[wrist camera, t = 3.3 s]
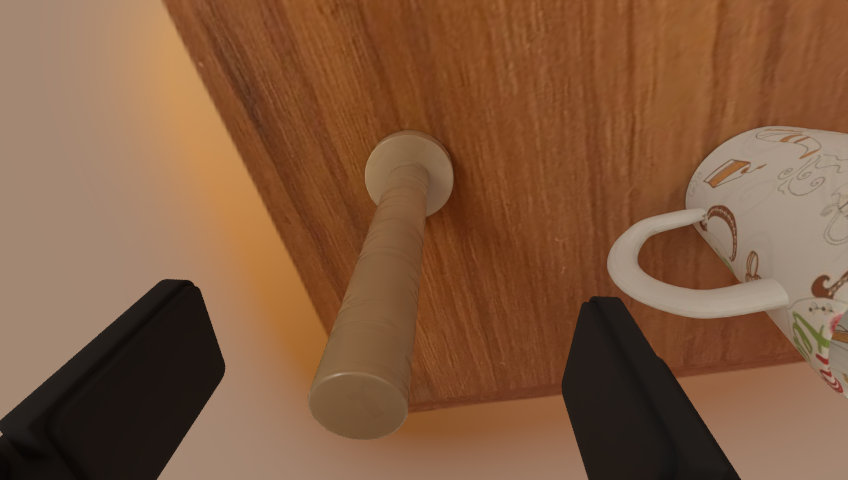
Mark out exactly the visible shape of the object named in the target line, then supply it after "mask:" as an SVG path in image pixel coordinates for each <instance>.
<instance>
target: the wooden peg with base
mask: <svg viewBox="0 0 848 480" xmlns="http://www.w3.org/2000/svg"><path fill="white" fill-rule="evenodd" d="M453 182H454V173H453V165H452V161H451V158H450V156H449V154H448V152H447V150H446V149H445V148H444V146H443V145H442V144H441V143H440V142H439V141H438V140H436V139H435V138H434V137H432V136H430V135H428V134H426V133H423V132H419V131H413V130H405V131H399V132H396V133H393V134H391V135H389V136H387V137H385V138H384V139H382V140H381V141H380V142H379V143H378V144H377V146H376V147H375V148H374V150H373V151H372V153H371V155H370V157H369V159H368V161H367V164H366V167H365V184H366V188H367V191H368V193H369V195H370V197H371V198H372V200H373V201H374V203H375V204H376V205H377V209H376V211H375V214H374V217H373V220H372V222H371V225H370V228H369V231H368V233H367V236H366V239H365V241H364V244H363V247H362V250H361V252H360V255H359V258H358V260H357V263H356V266H355V269H354V271H353V274H352V277H351V279H350V282H349V285H348V288H347V290H346V293H345V296H344V299H343V301H342V304H341V307H340V309H339V312H338V315H337V318H336V320H335V323H334V326H333V328H332V331H331V334H330V337H329V339H328V342H327V345H326V348H325V350H324V353H323V356H322V358H321V361H320V364H319V367H318V369H317V372H316V375H315V377H314V380H313V383H312V386H311V388H310V391H309V395H308V406H309V410H310V413H311V415H312V416H313V418H314V419H315V420H316V421H317V422H318V423H319V424H320V425H321V426H322V427H324V428H325V429H327V430H328V431H330V432H332V433H334V434H337V435H339V436H342V437H347V438H351V439H358V440H370V439H378V438H382V437H385V436H387V435H390V434H392V433H394V432H395V431H396V430H398V429H399V428H400V427H401V426H402V424H403V423H404V421H405V419H406V418H407V414H408V406H409V395H410V384H411V374H412V363H413V352H414V341H415V330H416V319H417V308H418V298H419V287H420V276H421V265H422V254H423V243H424V233H425V222H426V217H427V216H430V215H432V214H433V213H435V212H437V211H438V210H439V209H440V208H441V207H442V206H443V205H444V204H445V203H446V202H447V200H448V198H449V197H450V194H451V192H452V188H453Z"/></svg>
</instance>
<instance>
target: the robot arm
mask: <svg viewBox="0 0 848 480" xmlns="http://www.w3.org/2000/svg"><path fill="white" fill-rule="evenodd" d="M224 373H225V363H224V359H223V357H222V354H221V351H220V348H219V345H218V342H217V339H216V336H215V333H214V330H213V327H212V324H211V321H210V318H209V315H208V312H207V309H206V306H205V303H204V300H203V297H202V294H201V291H200V289H199V288H198V287H196V286H194V284H193V283H192V282H191V281H189V280H174V279H173V280H172V279H165V280H162V281H160V282H159V283H158V284H156V285H155V286H154V287H153V288H152V289H151V290H150V291H148V292H147V293H146V294H145V295H144V296H143V297H141V298H140V299H139V300H138V301H137V302H136V303H135V304H133V305H132V306H131V307H130V308H129V309H128V310H127V311H125V312H124V313H123V314H122V315H121V316H120V317H118V319H116V320H115V321H114V322H113V323H112V324H110V325H109V326H108V327H107V328H106V329H105V330H104V331H102V333H100V334H99V335H98V336H97V337H96V338H95V339H93V340H92V341H91V342H90V343H89V344H88V345H86V346H85V347H84V348H83V349H82V350H81V351H79V352H78V353H77V354H76V355H75V356H74V357H73V358H71V359H70V360H69V361H68V362H67V363H66V364H65V365H63V366H62V367H61V368H60V369H59V370H58V371H56V372H55V373H54V374H53V375H52V376H51V377H50V378H48V379H47V380H46V381H45V382H44V383H43V384H42V385H41V386H39V387H38V388H37V389H36V390H35V391H33V393H31V394H30V395H29V396H28V397H27V398H25V399H24V400H23V401H22V402H21V403H20V404H19V405H17V406H16V407H15V408H14V409H13V410H12V411H11V412H9V413H8V414H7V415H6V416H5V417H4V418H2V420H0V431H1V432H2V433H3V435H2V436H1V437H0V480H157V478H158V477H159V475H160V473H161V472H162V470H163V469H164V467H165V466H166V464H167V463H168V461H169V460H170V458H171V457H172V455H173V454H174V452H175V451H176V449H177V447H178V446H179V444H180V443H181V441H182V440H183V438H184V437H185V435H186V434H187V432H188V430H189V429H190V427H191V426H192V424H193V423H194V421H195V420H196V418H197V417H198V415H199V414H200V412H201V410H202V409H203V407H204V406H205V404H206V403H207V401H208V400H209V398H210V397H211V395H212V394H213V392H214V391H215V389H216V387H217V386H218V384H219V383H220V381H221V380H222V378H223V376H224ZM562 394H563V398H564V401H565V405H566V408H567V411H568V414H569V418H570V421H571V424H572V428H573V431H574V434H575V437H576V441H577V444H578V447H579V450H580V454H581V457H582V460H583V463H584V467H585V470H586V473H587V476H588V479H589V480H741V479H740V478H739V476H738V474H737V472H736V471H735V469H734V468H733V466H732V465H731V463H730V462H729V460H728V459H727V457H726V456H725V454H724V452H723V451H722V449H721V448H720V446H719V445H718V443H717V442H716V440H715V438H714V437H713V435H712V434H711V433H710V431H709V429H708V428H707V426H706V425H705V423H704V421H703V420H702V419H701V417H700V415H699V414H698V412H697V411H696V409H695V408H694V406H693V405H692V403H691V401H690V400H689V398H688V397H687V395H686V394H685V392H684V391H683V389H682V387H681V386H680V384H679V383H678V381H677V380H676V378H675V377H674V375H673V374H672V372H671V370H670V369H669V367H668V366H667V364H666V363H665V362H664V361H663V360H662V359H661V358H659V357H658V356H657V355H656V354H655V352H654V351H653V349H652V348H651V346H650V344H649V343H648V341H647V340H646V338H645V337H644V335H643V333H642V332H641V330H640V329H639V327H638V325H637V324H636V322H635V321H634V319H633V318H632V316H631V314H630V313H629V311H628V310H627V308H626V307H625V305H624V303H623V302H622V300H621V299H620V298H618V297H600V296H593V297H591V299H590V300H589V302H584V303H583V304H582V306H581V309H580V313H579V317H578V321H577V325H576V328H575V332H574V336H573V340H572V344H571V348H570V352H569V356H568V360H567V364H566V368H565V372H564V376H563V379H562Z"/></svg>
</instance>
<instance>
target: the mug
mask: <svg viewBox="0 0 848 480" xmlns="http://www.w3.org/2000/svg"><path fill="white" fill-rule="evenodd" d="M685 203H686V210H681V211H675V212H671V213H666V214H662V215H657V216H653V217H650V218H646V219H644V220H641V221H639V222H637V223H636V224H634V225H633V226H632V227H630V228H629V229H628V230H627V231H626V232H624V233H623V234H622V235H621V236H620V237H619V238H618V239H617V240H616V242H615V243H614V244H613V246H612V248H611V250H610V252H609V255H608V259H607V268H608V272H609V274H610V276H611V278H612V280H613V281H614V283H615V284H616V285H617V286H618V287H619V288H620V289H621V290H622V291H623V292H625V293H626V294H628V295H629V296H631V297H632V298H634V299H636V300H638V301H640V302H641V303H644V304H646V305H648V306H651V307H653V308H656V309H659V310H662V311H665V312H669V313H673V314H676V315H681V316H686V317H692V318H721V317H730V316H737V315H743V314H749V313H755V312H760V311H765V312H766V313H767V315H768V316H769V317H770V318H771V319H772V320H773V322H774V323H775V324H776V325H777V326H778V328H779V329H780V330H781V331H782V332H783V334H784V335H785V336H786V337H787V338H788V340H789V341H790V342H791V343H792V344H793V345H794V347H795V348H796V349H797V350H798V351H799V353H800V354H801V355H802V356H803V357H804V359H805V360H806V361H807V362H808V363H809V365H810V366H811V367H812V368H813V369H814V370H815V371H816V372H817V373H818V374H819V375H820V376H821V378H822V379H823V380H824V381H825V382H826V383H827V384H828V385H830V386H831V387H832V388H833V389H834V390H835V391H836V392H838V393H839V394H841V395H842V396H844V397H845V398H847V399H848V133H841V132H833V131H824V130H816V129H807V128H799V127H789V126H768V127H761V128H756V129H753V130H749V131H746V132H744V133H741V134H739V135H737V136H735V137H733V138H731V139H729V140H728V141H726V142H725V143H723V144H722V145H720V146H719V147H718V148H716V149H715V150H714V151H713V152H712V153H710V154H709V155H708V156H707V157H706V158H705V160H704V161H703V162H702V163H701V164H700V166H699V167H698V168H697V170H696V171H695V173H694V175H693V176H692V178H691V181H690V183H689V186H688V189H687V193H686V201H685ZM690 224H693V226H694V227H695V229H696V230H697V231H698V232H699V234H700V235H701V236H702V237H703V238H704V239H705V241H706V242H707V243H708V244H709V245H710V247H711V248H712V249H713V250H714V251H715V253H716V254H717V255H718V256H719V257H720V259H721V260H722V261H723V262H724V263H725V265H726V266H727V267H728V268H729V269H730V270H731V272H732V273H733V274H734V275H735V276H736V278H737V279H738V280H739V281H740V282H741V284H737V285H733V286H729V287H725V288H718V289H711V290H694V289H688V288H682V287H677V286H674V285H670V284H667V283H664V282H661V281H659V280H656V279H654V278H652V277H651V276H649V275H647V274H646V273H645V272H644V271H643V270H642V269H641V268H640V267H639V265H638V253H639V250H640V249H641V247H642V245H643V243H644V242H645V241H646V240H647V238H649V237H650V236H652V235H654V234H657V233H660V232H663V231H667V230H671V229H675V228H679V227H683V226H686V225H690Z"/></svg>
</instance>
